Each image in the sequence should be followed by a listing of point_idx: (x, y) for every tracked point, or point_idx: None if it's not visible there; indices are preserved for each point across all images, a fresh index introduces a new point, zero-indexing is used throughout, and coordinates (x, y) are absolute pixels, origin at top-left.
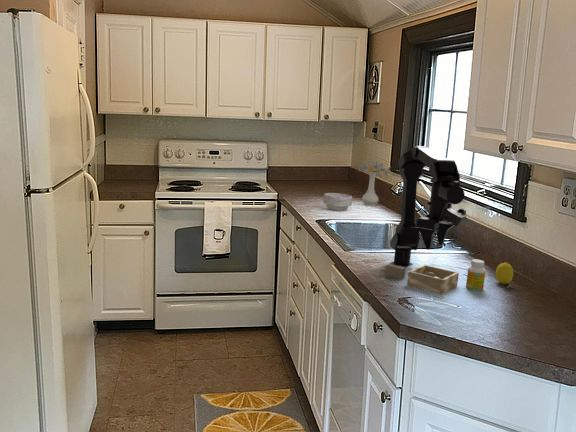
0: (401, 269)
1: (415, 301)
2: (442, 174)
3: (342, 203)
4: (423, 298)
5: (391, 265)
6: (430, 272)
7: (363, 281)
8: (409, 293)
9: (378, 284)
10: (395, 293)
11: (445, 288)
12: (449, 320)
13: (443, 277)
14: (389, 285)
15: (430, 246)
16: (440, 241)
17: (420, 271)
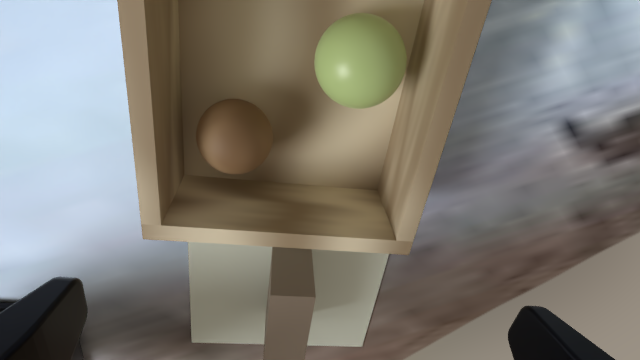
0: (314, 298)
1: (634, 76)
2: None
3: None
4: (560, 55)
5: (287, 352)
6: (239, 153)
7: (428, 340)
8: (501, 148)
9: (434, 292)
10: (535, 198)
11: None
12: None
13: (168, 53)
14: (420, 258)
15: (571, 338)
16: (53, 350)
17: (249, 213)
